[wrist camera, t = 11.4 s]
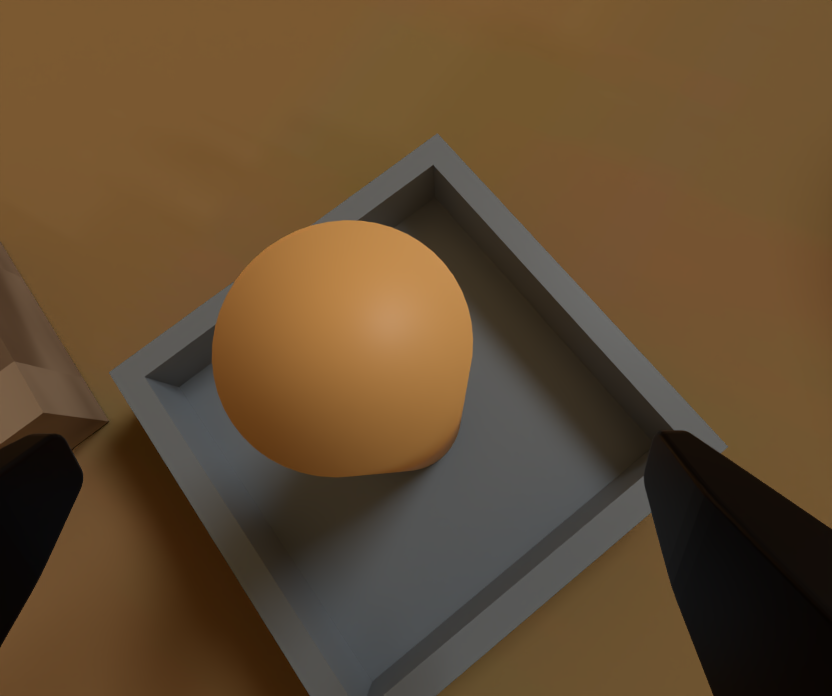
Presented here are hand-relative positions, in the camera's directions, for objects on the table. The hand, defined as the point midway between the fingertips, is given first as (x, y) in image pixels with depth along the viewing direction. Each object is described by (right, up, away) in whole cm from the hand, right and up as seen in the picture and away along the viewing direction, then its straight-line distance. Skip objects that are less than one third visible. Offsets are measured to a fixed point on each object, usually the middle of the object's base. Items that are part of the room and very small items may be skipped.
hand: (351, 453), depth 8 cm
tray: (+1, -1, +10) cm, 10 cm away
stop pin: (+1, -1, +9) cm, 9 cm away
